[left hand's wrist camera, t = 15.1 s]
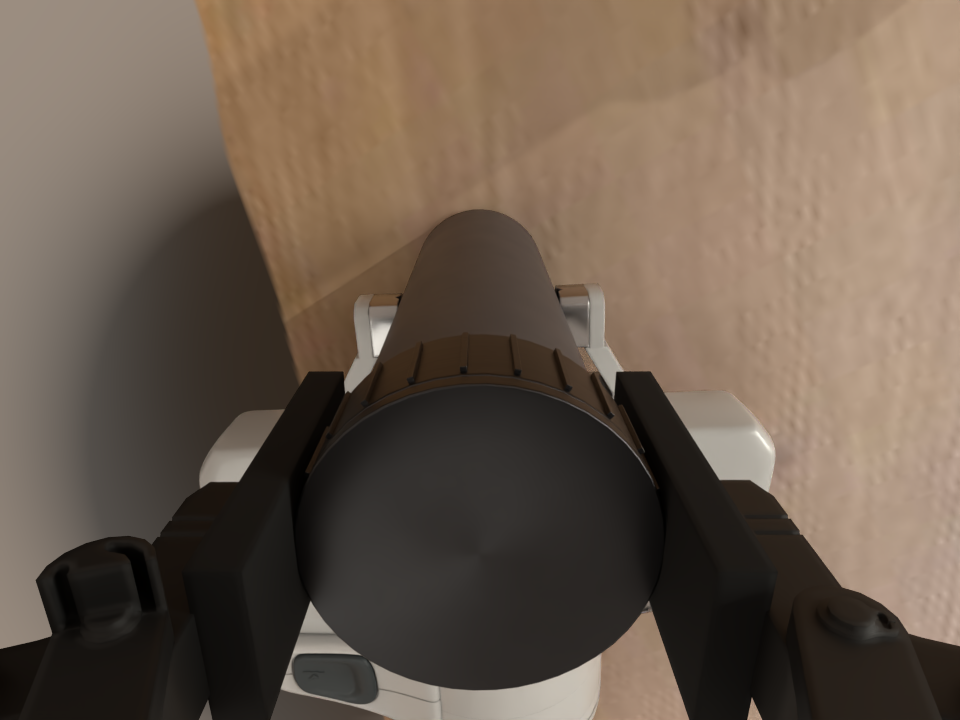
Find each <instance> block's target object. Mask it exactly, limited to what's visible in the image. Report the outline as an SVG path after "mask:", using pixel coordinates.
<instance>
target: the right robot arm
mask: <svg viewBox="0 0 960 720" xmlns="http://www.w3.org/2000/svg"><path fill="white" fill-rule="evenodd" d="M555 293H556V295H557V298H558V300H559V303H560V305H561V308H562V310H563V313H564V315H565V318H566V320H567V323H568V325H569V328H570V330H571V333H572V335H573V338H574V340H575V343H576V345H577V347H584V348H585V350H586V351H587V353H588V354H589V356H590V358H591V359H592V361H593V363H594V364H595V366H596V367H597V369H598V371H599V372H594V373H595V374H597V375H598V378H599V380H600V382H601V384H602V386H603V387H604V388H605V389H606V391H607V392H608V393H609V394H610V396H611V397H612V398H613V399H614V392H615V380H616V372H624V370H623V368H622V367H621V365H620V363H619V362H618V360H617V358H616V357H615V355H614V353H613V352H612V350H611V349H610V347H609V345H608V344H607V342H606V340H605V339H604V329H605V300H604V294H603V291H602V289H601V288H600V286H599V285H598V283H594V284H574V285H558V286H555ZM402 296H403V295H402V293H398V294H366V295H359V297H358V299H357V300H356V302H355V304H354V324H355V332H356V340H357V348H358V353H357V355H356V357H355V360H354V362H353V364H352V366H351V368H350V370H349V372H348V374H347V377H346V379H345V381H344V385H345V393H346V392H347V391H349V392H350V393H351V392H352V391H353V390H354V389H355V388H356V387H357V385H358V384H359V383H360V382H361V381H362V380H363V379H364V378H365V377H366V376H367V375H369V374H370V373H371V371H372V369H373V367H374V365H375V363H376V361H377V358H378V356H379V354H380V351H381V349H382V346H383V344H384V341H385V339H386V336H387V334H388V331H389V329H390V326H391V324H392V321H393V319H394V316H395V314H396V311H397V309H398V306H399V304H400V301H401V299H402ZM589 373H590V374H592V373H593V372H589ZM664 393H665V395H666V397H667V398H668V400H669V401H670V403H671V404H672V406H673V408H674V409H675V411H676V412H677V414H678V415H679V417H680V419H681V420H682V422H683V423H684V425H685V426H686V428H687V430H688V431H689V433H690V434H691V436H692V437H693V439H694V441H695V442H696V444H697V445H698V447H699V448H700V450H701V452H702V453H703V455H704V456H705V458H706V459H707V461H708V462H709V464H710V466H711V467H712V469H713V470H714V472H715V473H716V475H717V477H718V478H719V480H751V481H752V482H754V483H755V484H757V485H758V486H759V487H761V488H762V489H764V490H765V491H767V492H769V488H770V484H771V479H772V474H773V469H774V463H775V447H774V444H773V441H772V439H771V437H770V435H769V434H768V432H767V431H766V429H765V428H764V427H763V425H762V424H761V423H760V421H759V420H758V419H757V418H756V416H755V415H754V414H753V413H752V412H751V411H750V410H749V409H748V408H747V407H746V406H745V405H744V404H743V403H741V402H740V401H739V400H738V399H737V398H736V397H735V396H734V395H733V394H731V393H730V392H727V391H724V390H701V391H679V392H664ZM284 410H285V409H280V410H255V411H247V412H244V413H242V414H240V415H239V416H238V417H237V418H236V419H235V420H234V421H233V422H232V423H231V424H230V425H229V427H228V428H227V429H226V430H225V431H224V432H223V433H222V434H221V436H220V437H219V438H218V440H217V441H216V442H215V444H214V445H213V447H212V448H211V450H210V451H209V453H208V455H207V456H206V458H205V460H204V462H203V464H202V467H201V470H200V476H199V483H200V488H202V487H203V486H205V485H206V484H208V483H209V482H239V481H240V479H241V477H242V476H243V474H244V473H245V471H246V470H247V468H248V467H249V465H250V463H251V462H252V460H253V459H254V457H255V456H256V454H257V452H258V451H259V449H260V448H261V446H262V445H263V443H264V441H265V440H266V438H267V437H268V435H269V434H270V432H271V430H272V429H273V427H274V426H275V424H276V423H277V421H278V419H279V418H280V416H281V415H282V413H283V412H284ZM649 612H653V611H652V608H651V605H650V602H649V601H648V603H647V605H646V606H645V608H644V610H643V611H642V613H641V614H643V613H649ZM600 685H601V654H599V655H598V656H597V657H595V658H593V659H592V660H590V661H588V662H587V663H585V664H583V665H582V666H580V667H578V668H576V669H574V670H571V671H569V672H567V673H565V674H562V675H560V676H558V677H555V678H552V679H549V680H546V681H543V682H539V683H535V684H531V685H526V686H522V687H517V688H509V689H501V690H478V691H472V690H459V689H449V688H444V687H438V686H432V685H428V684H424V683H421V682H417V681H414V680H410V679H407V678H405V677H402V676H400V675H397V674H395V673H392V672H390V671H388V670H386V669H384V668H382V667H380V666H378V665H376V664H374V663H372V662H371V661H369V660H368V659H366V658H365V657H363V656H362V655H360V654H359V653H357V652H356V651H354V650H353V649H352V648H351V647H349V646H348V645H347V644H346V643H345V642H344V641H343V640H341V639H340V638H339V637H338V636H337V635H336V634H335V633H334V632H333V631H332V629H331V628H330V627H329V626H328V625H327V624H326V623H325V622H324V620H323V619H322V617H321V616H320V615H319V613H318V612H317V610H316V609H315V607H314V606H313V604H312V602H311V601H310V604H309V607H308V610H307V613H306V616H305V619H304V622H303V625H302V628H301V631H300V634H299V636H298V639H297V642H296V645H295V648H294V651H293V654H292V657H291V660H290V663H289V666H288V669H287V672H286V675H285V678H284V681H283V684H282V686H281V689H282V690H284V691H288V692H292V693H296V694H301V695H306V696H311V697H316V698H321V699H325V700H330V701H335V702H339V703H343V704H347V705H351V706H354V707H358V708H361V709H365V710H368V711H372V712H374V713H377V714H380V715H383V716H386V717H388V718H391V719H394V720H593V717H594V715H595V712H596V709H597V705H598V701H599V696H600Z"/></svg>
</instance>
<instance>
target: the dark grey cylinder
mask: <svg viewBox="0 0 960 720" xmlns="http://www.w3.org/2000/svg"><path fill="white" fill-rule="evenodd" d="M462 332H468V333H469V335H476V334H489V335H499V336H509V337H510V334H513V335H516V337H517V338H518V339H522V340H527V341H531V342H533V343H536V344H539V345H542V346H544V347H547V348H550V349H552V350H555V348H557V349H559V350H561V353H562V355H564V356H566V357H568V358H569V359H571V360H572V361H574V362H575V363H577V364H578V365H579V366H581V367H582V368H584V369H585V370H586V367H585V365H584V362H583V360H582V358H581V355H580V353H579V350H578V348H577V345H576V343H575V340H574V338H573V335H572V333H571V330H570V328H569V325H568V323H567V320H566V318H565V315H564V313H563V310H562V308H561V305H560V303H559V300H558V298H557V295H556V293H555V290H554V288H553V285H552V283H551V280H550V278H549V275H548V273H547V270H546V268H545V265H544V263H543V260H542V258H541V255H540V253H539V251H538V248H537V246H536V243H535V242H534V240H533V238H532V237H531V235H530V234H529V233H528V232H527V230H526V229H525V228H524V227H523V226H522V225H521V224H519V223H518V222H516V221H515V220H514V219H512V218H510V217H508V216H506V215H504V214H501V213H499V212H495V211H490V210H470V211H465V212H461V213H458V214H456V215H453V216H451V217H449V218H448V219H446V220H444V221H443V222H442V223H440V224H439V225H438V226H437V227H436V228H435V229H434V230H433V231H432V232H431V233H430V235H429V236H428V238H427V239H426V241H425V243H424V245H423V247H422V249H421V252H420V254H419V257H418V259H417V262H416V264H415V267H414V269H413V272H412V274H411V277H410V279H409V281H408V284H407V286H406V289H405V291H404V294H403V296H402V299H401V301H400V304H399V306H398V309H397V311H396V314H395V316H394V319H393V321H392V324H391V326H390V329H389V331H388V334H387V336H386V339H385V341H384V344H383V346H382V349H381V351H380V354H379V356H378V359H377V361H376V364H377V363H378V362H381V363H384V362H386V361H387V360H389V359H391V358H393V357H394V356H396V355H398V354H399V353H401V352H403V351H406V350H408V349H410V348H413V347H415V345H416V343H417V342H420V341H422V344H423V343H426V342H430V341H434V340H437V339H441V338H446V337H453V336H459V335H462ZM376 364H375V365H376ZM374 367H375V366H374ZM373 370H374V369H373Z"/></svg>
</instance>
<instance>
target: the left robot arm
mask: <svg viewBox="0 0 960 720" xmlns="http://www.w3.org/2000/svg"><path fill="white" fill-rule="evenodd" d="M344 395H345V385H344V373H343V372H308V374H307V376H306V377H305V379H304V380H303V382H302V383H301V385H300V387H299V388H298V390H297V391H296V393H295V394H294V396H293V398H292V399H291V401H290V402H289V404H288V405H287V407H286V409H285V410H284V412H283V413H282V415H281V416H280V418H279V419H278V421H277V423H276V424H275V426H274V427H273V429H272V430H271V432H270V434H269V435H268V437H267V438H266V440H265V441H264V443H263V445H262V446H261V448H260V449H259V451H258V452H257V454H256V456H255V457H254V459H253V460H252V462H251V463H250V465H249V467H248V468H247V470H246V471H245V473H244V474H243V476H242V477H241V479H240V481H239V482H209V483H208V484H206V485H205V486H203V487H202V488H200V489H199V490H198V491H196V492H195V493H193V494H192V495H190V496H189V497H188V498H186V499H185V501H184V502H183V504H182V505H181V506H180V508H179V509H178V510H177V512H176V513H175V514H174V516H173V517H172V521H169V522H168V524H167V525H166V526H165V528H164V529H163V530H162V532H161V535H160V537H157V538H156V540H155V541H154V542H153V544H152V545H151V544H150V543H149V542H147V541H146V540H145V539H141V538H136V537H131V536H121V537H108V538H104V539H100V540H96V541H93V542H89V543H86V544H83V545H81V546H79V547H77V548H75V549H72V550H70V551H68V552H66V553H64V554H63V555H61V556H60V557H58V558H57V559H56V560H54V561H53V562H52V563H50V564H49V565H47V566H46V568H45V569H44V570H43V571H42V573H41V574H40V575H39V577H38V578H37V579H36V583H37V586H38V589H39V592H40V595H41V599H42V602H43V605H44V608H45V611H46V614H47V618H48V621H49V624H50V627H51V630H52V636H51V637H48V638H44V639H41V640H38V641H33V642H29V643H25V644H20V645H16V646H12V647H7V648H3V649H0V720H199V718H200V716H201V713H202V711H203V709H204V707H205V705H206V702H207V700H209V705H210V710H211V715H212V719H213V720H270V719H271V716H272V713H273V710H274V707H275V704H276V701H277V698H278V695H279V692H280V689H281V686H282V684H283V681H284V678H285V675H286V672H287V669H288V666H289V663H290V660H291V657H292V654H293V651H294V648H295V645H296V642H297V639H298V636H299V634H300V631H301V628H302V625H303V622H304V619H305V616H306V613H307V610H308V607H309V604H310V601H311V600H310V598H309V596H308V594H307V592H306V590H305V588H304V586H303V583H302V580H301V577H300V574H299V571H298V566H297V558H296V551H295V542H294V523H295V517H296V511H297V505H298V502H299V499H300V496H301V493H302V490H303V487H304V485H305V483H306V480H307V478H305V477H304V473H305V471H306V469H307V467H308V465H309V462H310V460H311V458H312V456H313V454H314V452H315V450H316V448H317V446H318V443H319V441H320V439H321V437H322V435H323V433H324V431H325V429H326V427H327V426H328V427H330V425H331V423H332V420H333V418H334V416H335V414H336V412H337V410H338V407H339V405H340V403H341V401H342V399H343V397H344ZM614 401H615V402H616V404H617V406H619V405H621V404H622V405H623V407H624V409H625V411H626V413H627V415H628V417H629V419H630V422H631V424H632V426H633V428H634V430H635V432H636V434H637V436H638V438H639V440H640V443H641V445H642V447H643V449H644V451H645V453H643V454H644V456H645V458H646V460H647V462H648V464H649V466H650V469H651V471H652V473H653V475H654V477H655V479H656V481H657V483H658V486H659V488H660V491H661V493H660V494H659V496H660V499H661V504H662V508H663V513H664V517H665V530H666V538H665V546H664V554H663V562H662V568H661V572H660V576H659V580H658V582H657V584H656V587H655V589H654V591H653V594H652V596H651V598H650V600H649V602H650V605H651V608H652V611H653V614H654V617H655V620H656V623H657V626H658V629H659V632H660V635H661V638H662V641H663V644H664V646H665V649H666V652H667V655H668V658H669V661H670V664H671V667H672V670H673V673H674V676H675V679H676V682H677V685H678V688H679V691H680V694H681V696H682V699H683V702H684V705H685V708H686V711H687V714H688V717H689V720H747V718H748V713H749V708H750V703H751V699H752V698H753V700H754V702H755V705H756V707H757V709H758V711H759V713H760V715H761V718H762V720H960V646H956V645H952V644H947V643H943V642H938V641H934V640H930V639H925V638H921V637H918V636H915V635H911V634H908V632H907V631H906V629H905V628H904V626H903V625H902V623H901V622H900V620H899V619H898V617H896V616H895V615H894V614H893V613H892V612H890V611H889V610H888V609H887V608H886V607H884V606H883V605H882V604H881V603H879V602H877V601H875V600H873V599H871V598H869V597H867V596H865V595H863V594H861V593H859V592H855V591H852V590H849V589H845V588H842V587H841V586H840V584H839V583H838V582H837V580H836V579H835V578H834V576H833V575H832V574H831V572H830V571H829V570H828V568H827V567H826V566H825V564H824V563H823V562H822V560H821V559H820V558H819V556H818V555H817V554H816V552H815V551H814V549H813V548H812V547H811V545H810V544H809V543H808V541H807V540H806V539H805V537H804V536H803V535H800V533H799V529H798V528H797V527H796V525H795V524H794V523H793V521H792V520H791V519H788V515H787V513H786V512H785V511H784V509H783V508H782V507H781V505H780V504H779V503H778V501H777V500H776V499H775V497H774V496H773V495H771V494H770V493H768V492H767V491H765V490H764V489H762V488H761V487H759V486H758V485H757V484H755V483H754V482H752V481H751V480H719V478H718V477H717V475H716V473H715V472H714V470H713V469H712V467H711V466H710V464H709V462H708V461H707V459H706V458H705V456H704V455H703V453H702V452H701V450H700V448H699V447H698V445H697V444H696V442H695V441H694V439H693V437H692V436H691V434H690V433H689V431H688V430H687V428H686V426H685V425H684V423H683V422H682V420H681V419H680V417H679V415H678V414H677V412H676V411H675V409H674V408H673V406H672V404H671V403H670V401H669V400H668V398H667V397H666V395H665V393H664V392H663V390H662V389H661V387H660V386H659V384H658V383H657V381H656V379H655V378H654V376H653V375H652V373H651V372H616V380H615V392H614Z"/></svg>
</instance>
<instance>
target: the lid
mask: <svg viewBox="0 0 960 720" xmlns="http://www.w3.org/2000/svg"><path fill="white" fill-rule="evenodd" d="M643 453H645V451H644V449H643V447H642V445H641V443H640V440H639V438H638V436H637V434H636V432H635V430H634V428H633V426H632V424H631V422H630V419H629V417H628V415H627V413H626V411H625V409H624V407H623V405H622V404H621V405H619V406H617V404H616V402H615V401H614V399H613V398H612V397H611V396H610V394H609V393H608V392H607V391H606V389H605V388H604V387H603V386H602V384H601V382H600V380H599V378H598V375H597V374H595V373H594V372H593V373H592V374H590V373H589V372H588V371H587V370H585V369H584V368H582V367H581V366H579V365H578V364H577V363H575V362H574V361H572V360H571V359H569V358H568V357H566V356H564V355H562V353H561V350H559V349H557V348H555V350H552V349H550V348H547V347H544V346H542V345H539V344H536V343H533V342H531V341H527V340H522V339H518V338H517V337H516V335H513V334H510V337H509V336H499V335H489V334H476V335H469V333H468V332H462V335H459V336H453V337H446V338H441V339H437V340H434V341H430V342H426V343H423V344H422V341H420V342H417V343H416V345H415V347H413V348H410V349H408V350H406V351H403V352H401V353H399V354H398V355H396V356H394V357H393V358H391V359H389V360H387V361H386V362H384V363H381V362H378V363H377V364H376V365H375V367H374V370H373V371H372V372H371V373H370V374H369V375H367V376H366V377H365V378H364V379H363V380H362V381H361V382H360V383H359V384H358V385H357V387H356V388H355V389H354V390H353V391H352V392H351V393H350V392H349V391H347V392H346V393H345V395H344V397H343V399H342V401H341V403H340V405H339V407H338V410H337V412H336V414H335V416H334V418H333V420H332V423H331V425H330V427H328V426H327V427H326V429H325V431H324V433H323V435H322V437H321V439H320V441H319V443H318V446H317V448H316V450H315V452H314V454H313V456H312V458H311V460H310V462H309V465H308V467H307V469H306V471H305V473H304V477H305V478H307V480H306V483H305V485H304V487H303V490H302V493H301V496H300V499H299V502H298V505H297V511H296V517H295V523H294V542H295V551H296V558H297V566H298V571H299V574H300V577H301V580H302V583H303V586H304V588H305V590H306V592H307V594H308V596H309V598H310V600H311V602H312V604H313V606H314V607H315V609H316V610H317V612H318V613H319V615H320V616H321V617H322V619H323V620H324V622H325V623H326V624H327V625H328V626H329V627H330V628H331V629H332V631H333V632H334V633H335V634H336V635H337V636H338V637H339V638H340V639H341V640H343V641H344V642H345V643H346V644H347V645H348V646H349V647H351V648H352V649H353V650H354V651H356V652H357V653H359V654H360V655H362V656H363V657H365V658H366V659H368V660H369V661H371V662H372V663H374V664H376V665H378V666H380V667H382V668H384V669H386V670H388V671H390V672H392V673H395V674H397V675H400V676H402V677H405V678H407V679H410V680H414V681H417V682H421V683H424V684H428V685H432V686H438V687H444V688H449V689H459V690H472V691H478V690H501V689H509V688H517V687H522V686H526V685H531V684H535V683H539V682H543V681H546V680H549V679H552V678H555V677H558V676H560V675H562V674H565V673H567V672H569V671H571V670H574V669H576V668H578V667H580V666H582V665H583V664H585V663H587V662H588V661H590V660H592V659H593V658H595V657H597V656H598V655H599V654H601V653H602V652H603V651H605V650H606V649H607V648H609V647H610V646H611V645H613V644H614V643H615V642H616V641H617V640H618V639H619V638H620V637H621V636H622V635H623V634H624V633H625V632H626V631H627V630H628V629H629V628H630V627H631V626H632V624H633V623H634V622H635V621H636V619H637V618H638V617H639V616H640V614H641V613H642V611H643V610H644V608H645V606H646V605H647V603H648V601H649V600H650V598H651V596H652V594H653V591H654V589H655V587H656V584H657V582H658V580H659V576H660V572H661V568H662V562H663V554H664V546H665V538H666V530H665V517H664V513H663V508H662V504H661V499H660V496H659V494H660V493H661V491H660V488H659V486H658V483H657V481H656V479H655V477H654V475H653V473H652V471H651V469H650V466H649V464H648V462H647V460H646V458H645V456H644V454H643Z"/></svg>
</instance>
